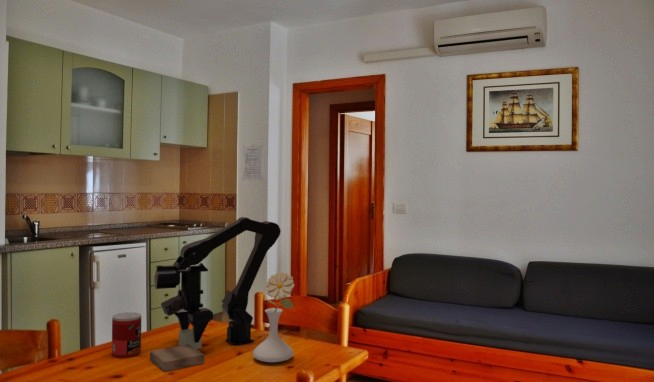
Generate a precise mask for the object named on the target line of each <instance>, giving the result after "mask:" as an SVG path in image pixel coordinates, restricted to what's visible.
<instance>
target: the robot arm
mask: <svg viewBox="0 0 654 382" xmlns="http://www.w3.org/2000/svg"><path fill="white" fill-rule="evenodd" d="M246 231H248V232H252V233H254V235H255V236H254V243H253V248H252V250H251V251H250V254H249V256H248V259H247V261H246V262H245V265H244V267H243V270H242V271H241V274H240V276H239V278H238V281H237V283H236V285H235V286H234V288H233V289H232V290H229V289H227V290H226V292H225V294H224V297H223V299H222V300H221V303H222V305H221V309H222V312H223V313H224V314H225V315H226V316H227V317H228V319H229V320H230V321H228V326H227V327H226V338H225V341H226V342H228V343H230V344H232V345H234V346H238V345H244V344H248V343H253V342H254V339H252V338H251V336H252V334H251V333H252V332H251V329H252V323H253V319H254V317H253V316H252V315H251V314H250V313H249V312H248V311H247V308H248V303H249V296H250V295H249V293H250V290H251V289H252V286H253V285H254V281H255V279H256V277H257V275H258V272H259V271H260V268H261V266H262V264H263V261H264V259H265V258H266V257H265V256H266V255H267V253H268V251H269V250H270V249H271V248H272V247H273V246H274V245H275V243H276V242H277V241H278V239H279V237H280V236H281V232H282V231H281V227H280V225H279V224H277V223H276V222H273V221H267V220H266V221H265V220H264V221H262V222H261V221H257V220H254V219H250V218H249V217H246V216H245V217H243V216H240V217H239V218H237V219H236V220H235V221H233V222H232V223H230V224H228V225H226V226H224V227H223V228H221V229H219V230H218V231H216V232H214V233H213V234H210V235H208V236H207V237H204V238H203V239H198V240H195V241H192V242H190V243H187V244H184V245H183V246H182V247H181V249H180V251H179V252H180V253H179V256H178V257H177V259H176V260H175V261H174V263H173V265H162V264H159V265H158V264H157V265H156V266H155V272H154V277H153V279H154V288H155V290H163V289H164V290H165V289H176V288H177V287H178V286H179V285H180V289H178V290H177V295H175V296H172V297H170V298H168V299H166V300H164V301H162V302H161V303H160V306H161V308H162V312H163V314H165V315H167V316H168V317H169V316H173V315H174V316H175V317H177V321H178V323H179V324H178V325H179V327H180V330H186V329H190V325H191V326H192V328H193V334H194V341H195V343H198V342H199V340H200V338H201V339H202V337H203V333H204V332H205V330H206V328H207V326H208V325H209V323H210V322H211V321H212V320H213V319H214V312H213V311H212V310H211V309H209V308H208V307H204V304H203V303H202V301H201V300H202V299H201V298H202V297H201V295H203V294H204V289H202V288H201V287H202V272H208V271H209V269H208V268H207V267H206V266H205V265H204V263H202V261H204V260H205V259H206V258H207V257H208V256H209V255H210V254H211V253H212V252H213V251H214V250H215V249H217V248H219V247H220V246H222V245H224V244H225V243H228V242H229V241H230V240H232V239H234V238H235V237H237V236H239V235H241V234H242V233H244V232H246Z"/></svg>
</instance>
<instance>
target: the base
mask: <svg viewBox="0 0 654 382" xmlns="http://www.w3.org/2000/svg"><path fill="white" fill-rule="evenodd" d="M149 361H150V362H152V363H153V364H154V365H155V366H156V367H158V368H159V369H160V370H161V371H162V372H163V373H167V372H170V371H174V370H175V371H176V370H180V369H184V368H189V367H190V368H191V367H193V366H199V365H204V364H205V354H204V353H202V352H201V351H200V350H199V349H195V348H193V347H191V346H190V345H188V344H187V345H182V346H179V345H178V346H172V347H167V348H166V347H165V348H161V349H156V350H155V349H154V350H150V351H149Z"/></svg>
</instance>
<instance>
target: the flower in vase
mask: <svg viewBox="0 0 654 382" xmlns="http://www.w3.org/2000/svg"><path fill="white" fill-rule="evenodd" d="M293 279H294V278H293V276H292V275H290V274H288V273H287V272H284V271H281V272H275V274H272V275H270V278H268V279H267V282H266V283H265V289H266V290H265V291H266V295H267V296H268V297H270V298H273V299H274V300H277V301H278V300H280V302H279V303H278V305H277V304H276V303H275V302H274V301H272V300H270V299H268V298H267V297H265V300H267V301H268V302H269V303H271V304H273V305H274V306H276V308H275V307H271V308H267V309H265V310H264V313H266V315H267V318H268V324H269V332H268V336H267V337H266V339H265V340H263V341H262V342H261V343H259V345H257V346H256V347H255V348H254V349H253V351H252V355H253V357H254V359H256V360H258V361H261V362H264V363H265V362H266V363H281V362H284V361H287V360H289V359H291V358H293V355H294V350H293V349H292V347H291V346H290V345H289V344H287V343H286V342H285V341H284V340H282V338H280V336H279V333H278V328H279V327H278V325H279V319H280V315H281V314H282V312H284V310H283V309H282V308H279V307H280V305H282V307H283V308H284V309H290V308H294V307H295V306H294V304H293V302H292V301H291V300H290V299H288V298H286V297H289V296H290V294H291V292H293V289H294V287H295V283H294V280H293ZM284 298H285V299H284Z"/></svg>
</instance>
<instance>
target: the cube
mask: <svg viewBox="0 0 654 382" xmlns="http://www.w3.org/2000/svg"><path fill="white" fill-rule="evenodd" d="M187 344H188V345H190V346H191V347H193V348H195V349H196V350H199V349H202V337H201V338H200V340H199V342H198V343H195V341H194V334H193V327H191V328H188V329H186V330H181V329H180V330H179V331H178V346H182V345H187Z"/></svg>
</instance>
